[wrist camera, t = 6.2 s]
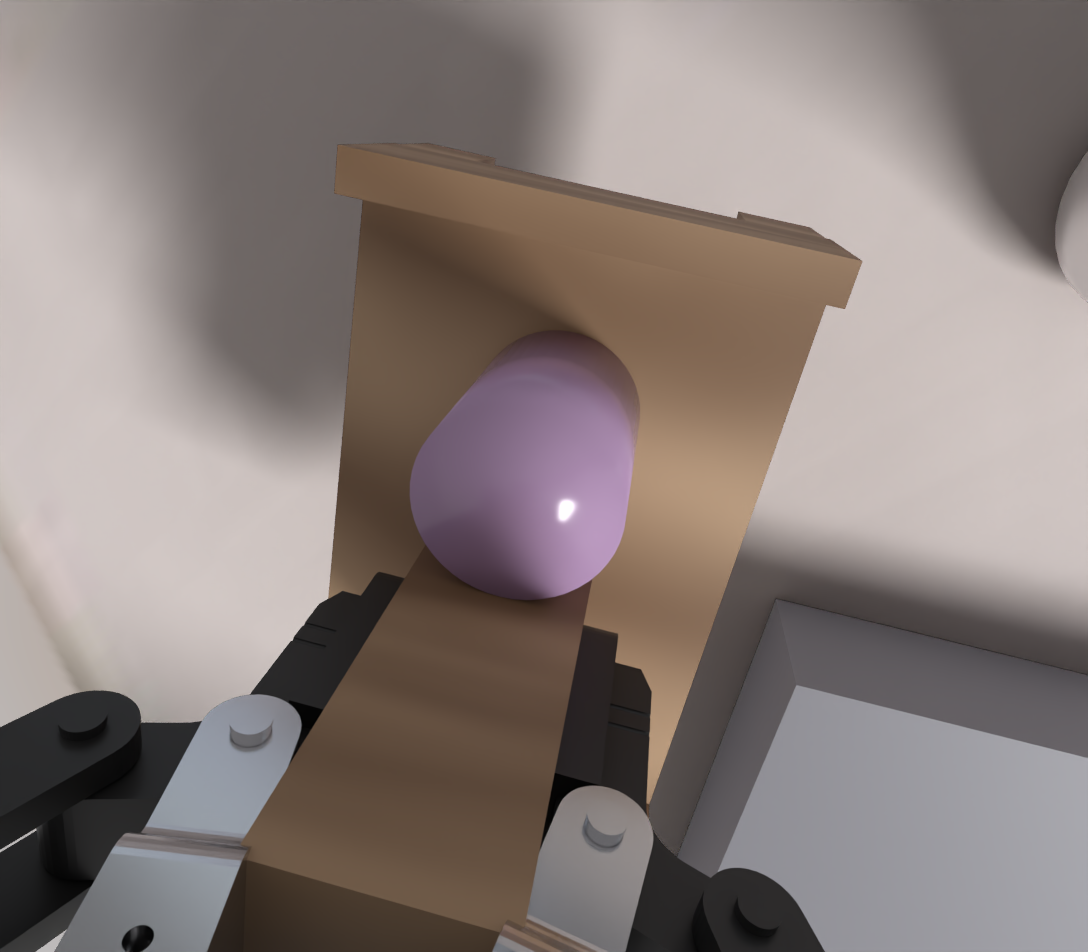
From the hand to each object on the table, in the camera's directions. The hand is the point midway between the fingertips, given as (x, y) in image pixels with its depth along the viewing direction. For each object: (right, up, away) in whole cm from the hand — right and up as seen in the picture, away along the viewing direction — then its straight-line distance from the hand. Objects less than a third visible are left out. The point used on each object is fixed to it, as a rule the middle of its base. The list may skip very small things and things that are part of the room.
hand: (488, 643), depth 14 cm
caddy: (+1, +3, +7) cm, 7 cm away
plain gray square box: (+16, -11, +18) cm, 26 cm away
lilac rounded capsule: (+1, +4, +2) cm, 5 cm away
